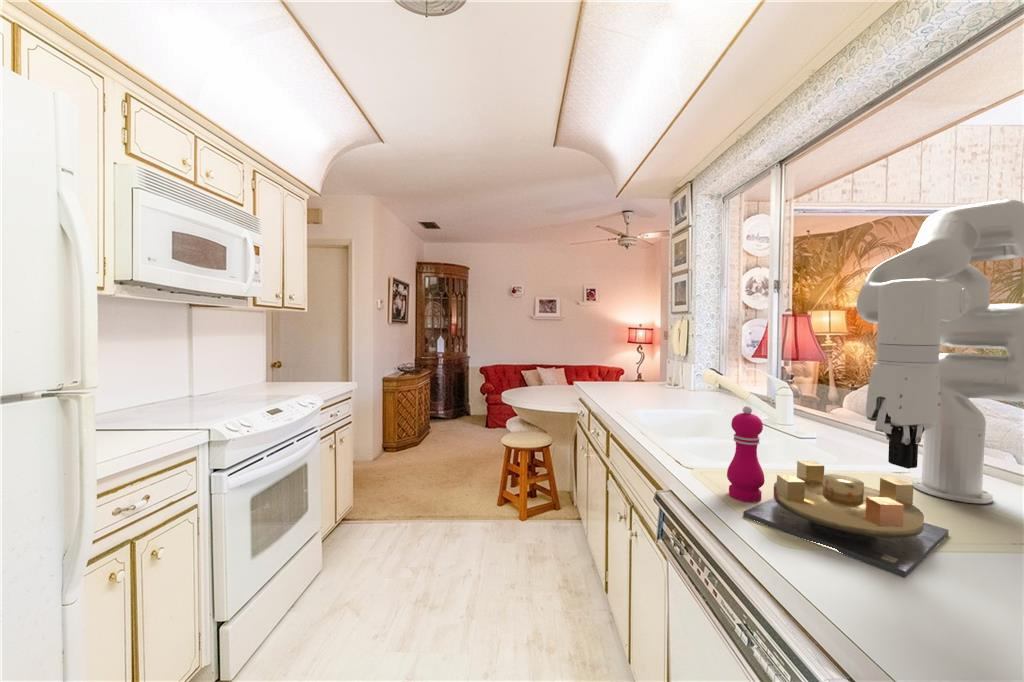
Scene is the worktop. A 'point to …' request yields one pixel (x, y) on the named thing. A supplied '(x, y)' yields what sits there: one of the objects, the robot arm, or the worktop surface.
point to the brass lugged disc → (850, 502)
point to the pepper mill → (746, 458)
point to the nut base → (854, 539)
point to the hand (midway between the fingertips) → (902, 465)
